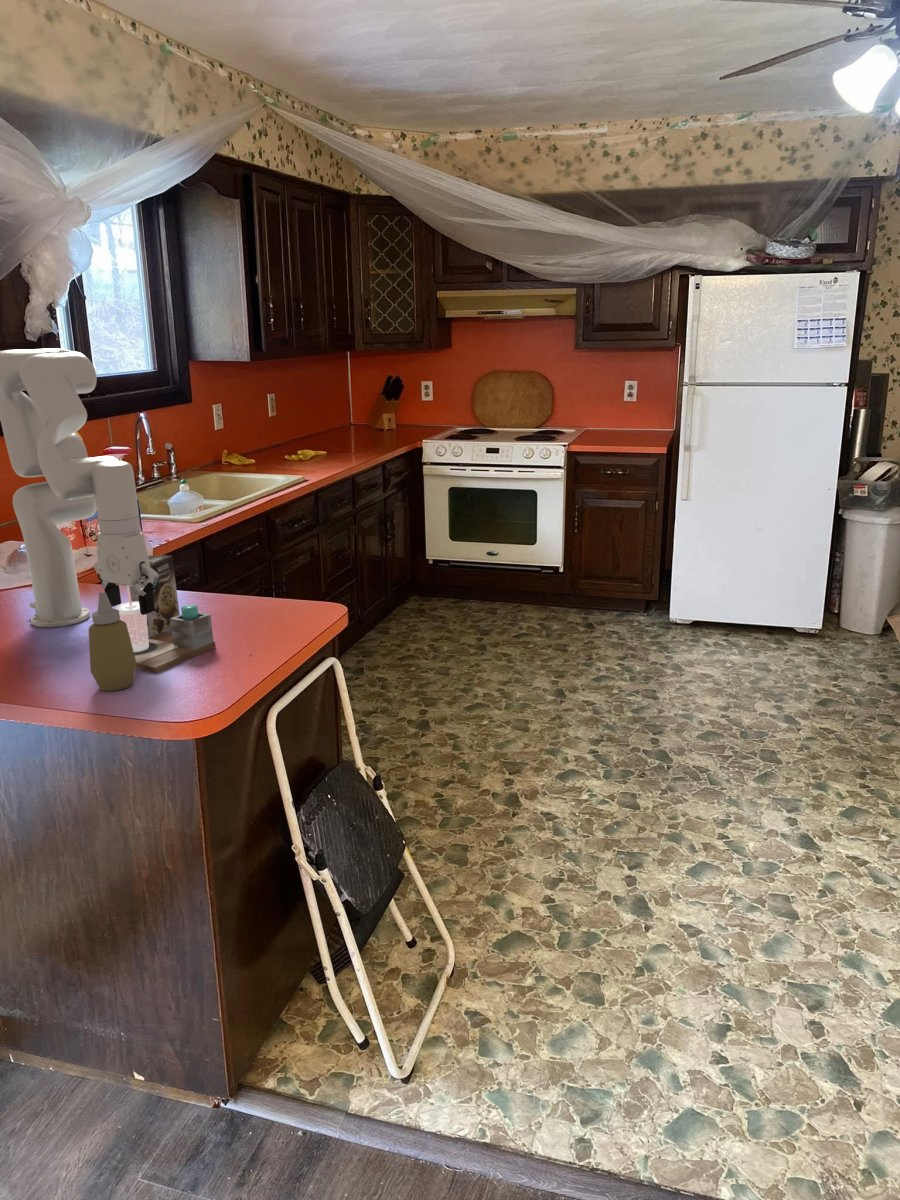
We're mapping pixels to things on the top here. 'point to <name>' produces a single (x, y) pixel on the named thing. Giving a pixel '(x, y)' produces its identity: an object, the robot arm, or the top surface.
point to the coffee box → (161, 595)
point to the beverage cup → (134, 623)
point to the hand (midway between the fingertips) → (130, 609)
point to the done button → (189, 612)
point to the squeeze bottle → (110, 648)
